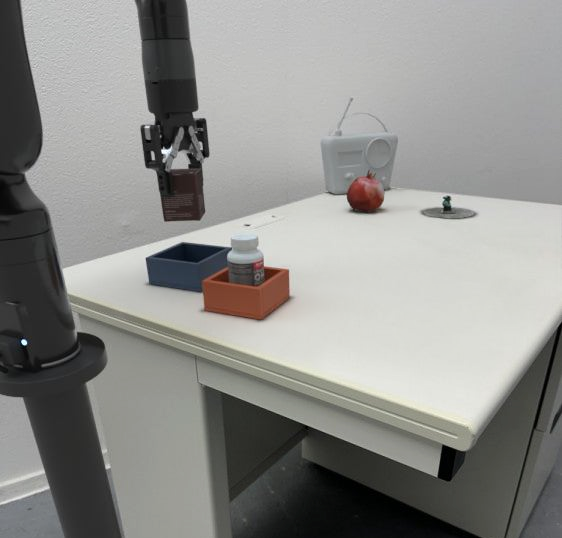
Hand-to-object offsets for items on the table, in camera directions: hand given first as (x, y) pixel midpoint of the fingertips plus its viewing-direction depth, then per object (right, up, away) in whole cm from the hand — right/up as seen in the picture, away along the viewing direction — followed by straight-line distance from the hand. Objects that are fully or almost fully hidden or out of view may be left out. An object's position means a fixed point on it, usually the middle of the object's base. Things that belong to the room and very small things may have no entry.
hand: (182, 192), depth 88 cm
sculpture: (+57, +10, +46) cm, 74 cm away
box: (0, -4, +2) cm, 4 cm away
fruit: (+37, +12, +50) cm, 64 cm away
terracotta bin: (+11, -19, -4) cm, 22 cm away
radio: (+39, +25, +74) cm, 87 cm away
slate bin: (0, -13, +7) cm, 14 cm away
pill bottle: (+11, -18, -5) cm, 22 cm away
